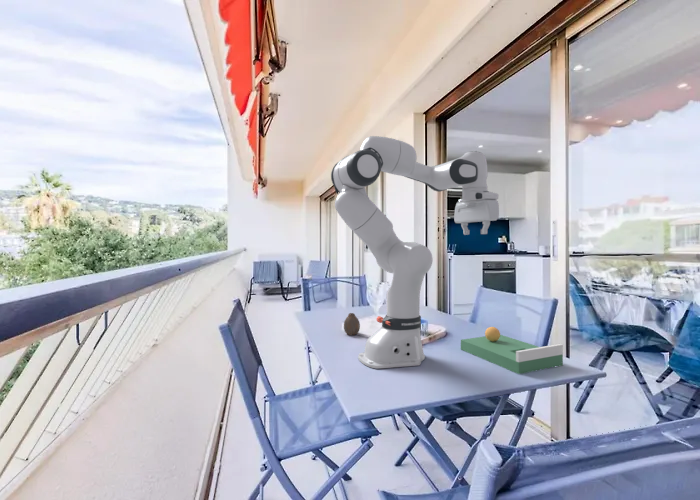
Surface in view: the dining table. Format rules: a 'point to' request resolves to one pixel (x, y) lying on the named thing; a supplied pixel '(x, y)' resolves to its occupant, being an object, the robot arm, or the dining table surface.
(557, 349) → the green
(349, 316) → the vase
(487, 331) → the ball
